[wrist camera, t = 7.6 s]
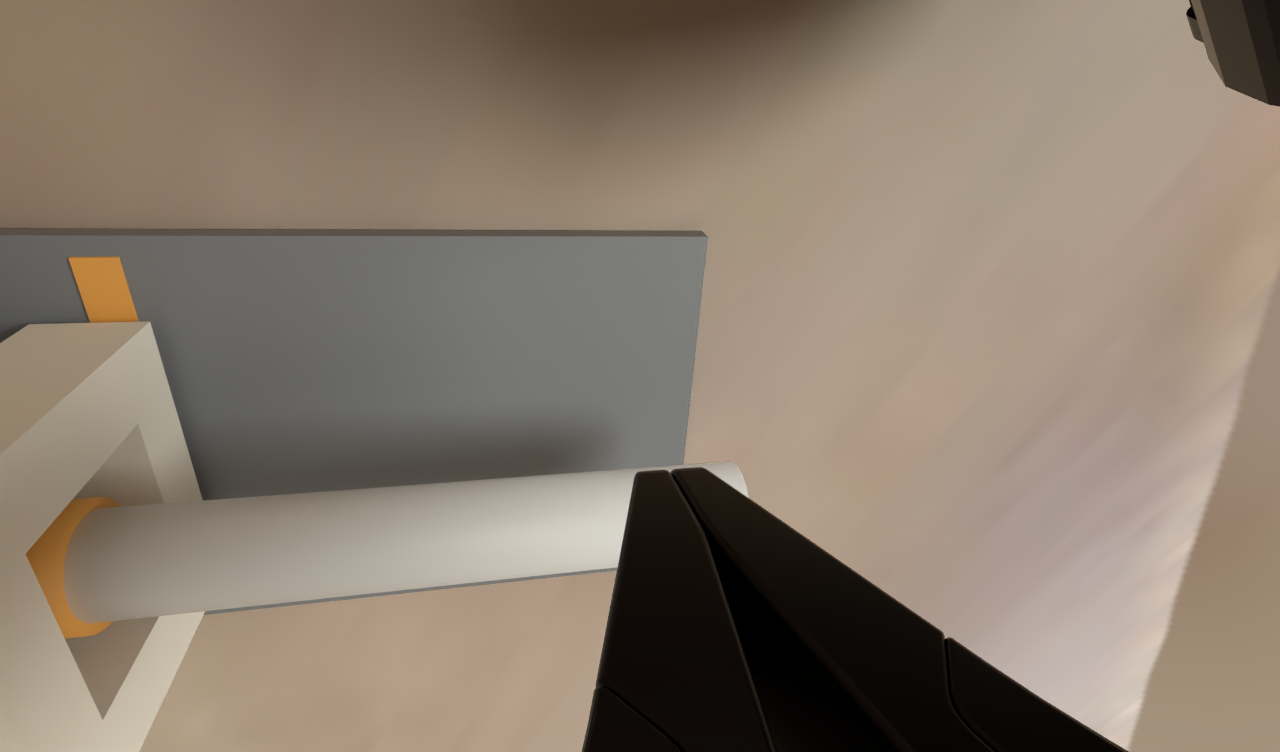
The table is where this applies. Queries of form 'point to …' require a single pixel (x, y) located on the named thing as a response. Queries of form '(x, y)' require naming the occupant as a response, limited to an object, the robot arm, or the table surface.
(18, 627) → the collar ring
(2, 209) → the table surface
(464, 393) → the pipe mount
